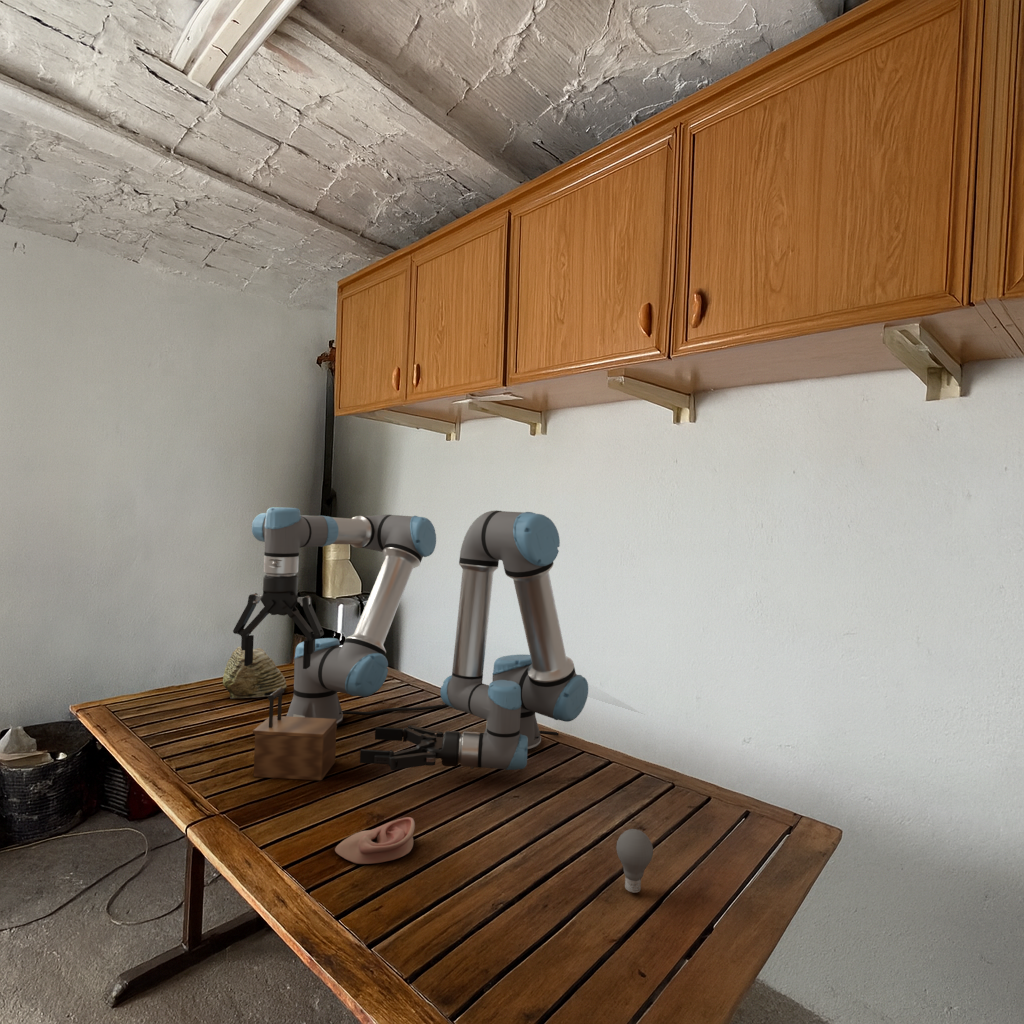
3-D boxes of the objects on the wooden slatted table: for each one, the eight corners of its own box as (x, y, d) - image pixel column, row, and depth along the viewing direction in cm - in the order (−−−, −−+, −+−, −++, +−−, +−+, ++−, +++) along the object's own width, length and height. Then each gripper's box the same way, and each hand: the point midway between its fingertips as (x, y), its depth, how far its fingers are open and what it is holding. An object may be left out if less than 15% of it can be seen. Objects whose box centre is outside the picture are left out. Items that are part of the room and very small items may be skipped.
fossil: (218, 695, 195) (220, 647, 195) (278, 685, 208) (279, 640, 207) (228, 703, 189) (230, 653, 188) (289, 692, 201) (290, 645, 201)
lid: (252, 734, 142) (254, 697, 141) (271, 718, 152) (272, 684, 151) (322, 738, 141) (324, 700, 141) (336, 722, 151) (338, 687, 151)
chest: (253, 776, 142) (255, 734, 142) (271, 758, 152) (273, 719, 152) (321, 780, 141) (322, 738, 141) (335, 762, 151) (336, 722, 151)
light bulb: (610, 879, 108) (613, 822, 108) (644, 879, 109) (647, 822, 109) (619, 902, 102) (622, 840, 102) (655, 901, 103) (658, 840, 103)
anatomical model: (327, 836, 111) (356, 806, 122) (326, 858, 111) (355, 826, 122) (398, 848, 108) (421, 815, 119) (397, 871, 108) (420, 836, 119)
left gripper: (219, 573, 142) (216, 667, 143) (329, 578, 142) (325, 673, 142) (235, 570, 150) (232, 659, 150) (339, 575, 149) (336, 664, 150)
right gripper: (453, 790, 133) (352, 784, 133) (465, 744, 158) (380, 739, 158) (454, 754, 132) (354, 749, 133) (466, 714, 157) (381, 710, 158)
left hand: (277, 666), depth 146 cm, fingers open, 13 cm apart
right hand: (368, 744), depth 146 cm, fingers open, 13 cm apart
